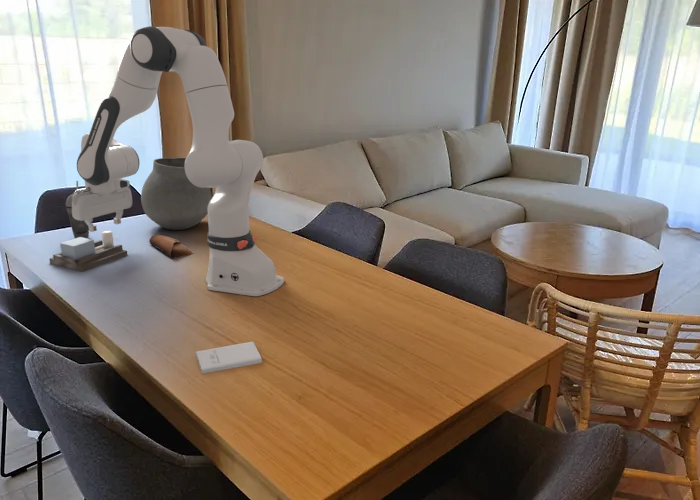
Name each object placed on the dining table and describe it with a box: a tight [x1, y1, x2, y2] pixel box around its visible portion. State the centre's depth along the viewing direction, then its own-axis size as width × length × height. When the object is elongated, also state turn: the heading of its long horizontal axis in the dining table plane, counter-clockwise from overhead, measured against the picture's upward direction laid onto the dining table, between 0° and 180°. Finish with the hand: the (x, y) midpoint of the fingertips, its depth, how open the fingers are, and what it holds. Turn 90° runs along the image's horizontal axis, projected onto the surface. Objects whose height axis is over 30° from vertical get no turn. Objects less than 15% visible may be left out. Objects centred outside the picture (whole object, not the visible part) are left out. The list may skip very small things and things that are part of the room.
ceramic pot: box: [140, 157, 213, 231], centre depth 205 cm, size 24×24×25 cm
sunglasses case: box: [149, 234, 194, 259], centre depth 185 cm, size 18×7×7 cm
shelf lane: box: [48, 239, 128, 273], centre depth 175 cm, size 14×17×3 cm
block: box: [59, 230, 115, 259], centre depth 175 cm, size 6×16×5 cm, turn 153°
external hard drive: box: [195, 341, 263, 375], centre depth 120 cm, size 2×8×12 cm
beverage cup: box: [65, 180, 90, 239], centre depth 191 cm, size 7×7×20 cm
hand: (105, 227), depth 179 cm, fingers open, 8 cm apart
